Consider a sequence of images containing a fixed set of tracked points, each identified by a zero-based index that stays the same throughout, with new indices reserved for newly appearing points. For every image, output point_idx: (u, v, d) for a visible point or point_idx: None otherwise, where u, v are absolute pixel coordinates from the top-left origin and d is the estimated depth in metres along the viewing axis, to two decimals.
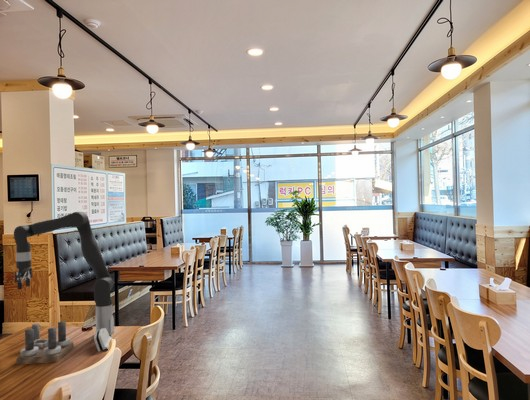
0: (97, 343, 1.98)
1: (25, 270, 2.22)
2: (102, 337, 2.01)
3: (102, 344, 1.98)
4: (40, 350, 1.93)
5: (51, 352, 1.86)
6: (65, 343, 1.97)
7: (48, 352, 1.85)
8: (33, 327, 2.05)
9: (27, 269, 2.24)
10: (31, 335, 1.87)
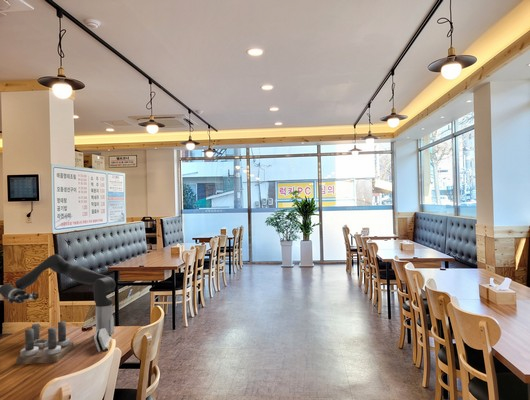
0: (97, 343, 1.98)
1: (20, 295, 2.20)
2: (102, 337, 2.01)
3: (102, 344, 1.98)
4: (40, 350, 1.93)
5: (51, 352, 1.86)
6: (65, 343, 1.97)
7: (48, 352, 1.85)
8: (33, 327, 2.05)
9: None
10: (31, 335, 1.87)
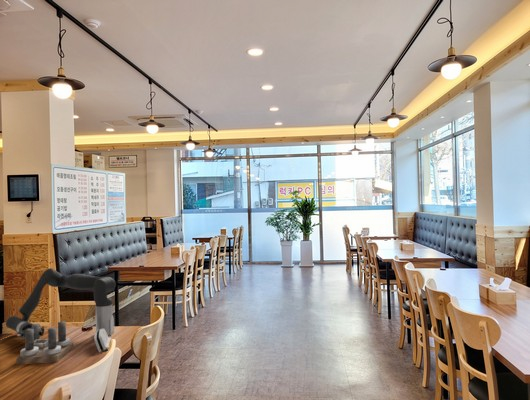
0: (98, 343, 1.98)
1: None
2: (102, 337, 2.00)
3: (103, 344, 1.98)
4: (40, 350, 1.93)
5: (51, 352, 1.86)
6: (65, 343, 1.97)
7: (48, 352, 1.85)
8: (33, 327, 2.05)
9: None
10: (31, 335, 1.87)
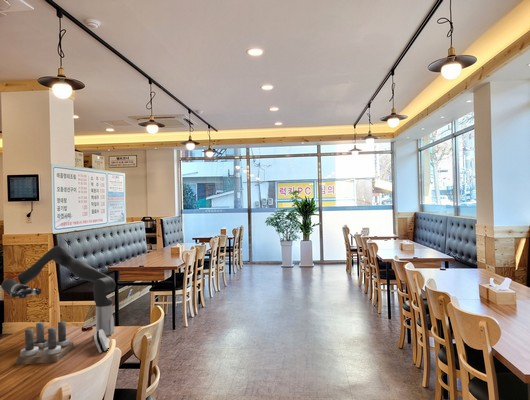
0: (98, 344, 1.96)
1: None
2: (102, 338, 1.99)
3: (103, 345, 1.97)
4: (40, 350, 1.93)
5: (51, 352, 1.86)
6: (65, 343, 1.97)
7: (48, 352, 1.85)
8: (38, 326, 1.97)
9: None
10: (31, 335, 1.87)
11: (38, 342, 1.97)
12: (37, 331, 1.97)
